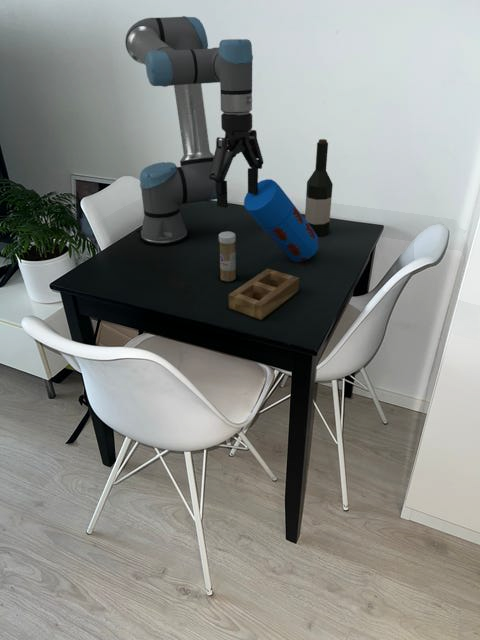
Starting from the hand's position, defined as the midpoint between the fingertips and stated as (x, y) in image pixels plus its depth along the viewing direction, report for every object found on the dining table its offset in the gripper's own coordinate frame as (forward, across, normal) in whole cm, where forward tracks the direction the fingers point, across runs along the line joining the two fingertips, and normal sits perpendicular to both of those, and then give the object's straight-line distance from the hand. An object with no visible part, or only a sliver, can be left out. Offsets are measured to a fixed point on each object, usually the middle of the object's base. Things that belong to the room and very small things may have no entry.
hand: (238, 200), depth 132 cm
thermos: (+19, +22, -8) cm, 30 cm away
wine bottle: (+22, +42, -2) cm, 48 cm away
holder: (+23, -6, -12) cm, 27 cm away
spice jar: (+23, -1, +3) cm, 23 cm away
